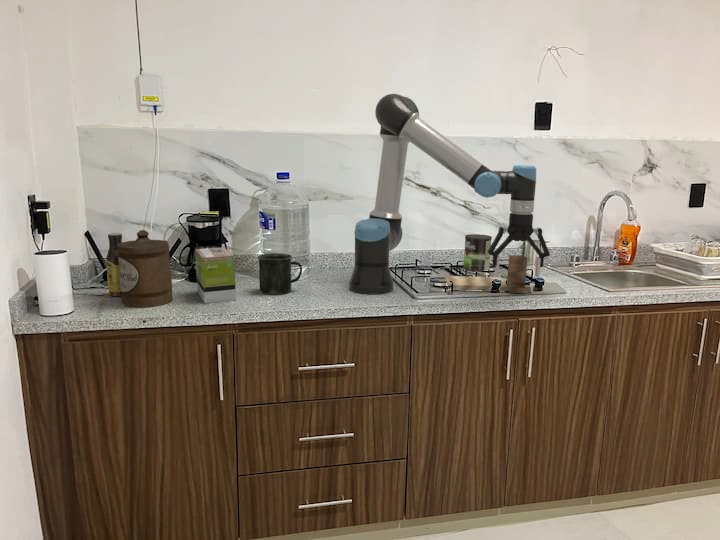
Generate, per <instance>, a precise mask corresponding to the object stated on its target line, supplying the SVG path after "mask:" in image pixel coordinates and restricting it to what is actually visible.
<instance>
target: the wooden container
mask: <svg viewBox="0 0 720 540" xmlns="http://www.w3.org/2000/svg"><path fill="white" fill-rule="evenodd" d="M149 235H150V234H149V232H148V231H146V230H145V229H141V230H139V231H137V233H136V236H137V238H136V239H135V240H128V241H122V243H119V244H118V245H117V249H118V255H119V256H118V258H119V274H120V288H121V296H120V297H121V304H122V305H124V306H126V307H131V308H151V307H157V306H162V305H165V304H169V303H170V302H172V301H173V294H174V293H173V280H172V279H173V278H172V269H171V259H170V244H169V242H168V241H167V240H162V239H150V238H149Z"/></svg>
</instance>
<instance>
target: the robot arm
mask: <svg viewBox="0 0 720 540" xmlns="http://www.w3.org/2000/svg"><path fill="white" fill-rule="evenodd" d="M374 110H375V112H374V113H375V119H376V121H377V123H378V124H379V125H380V130H379V136H380V137H381V139H382V140H383V141H382V149H381V156H380V163H379V164H380V165H379V172H378V180H377V187H376V188H377V189H376V194H375V195H376V197H375V202H374V203H375V204H374V209H373V210H371V211H370V213H369V218H367V219H360V220H359V221H357V222H356V224H355V227H354V228H355V229H354V233H353V234H354V267H353V270H352V273H351V277H350V280H349V283H348V286H349V290H350V291H351V292H355V293H359V294H366V295H378V294H386V293H390V292H392V291H393V290H394V281H393V278H392V274H391V270H390V252H391V251H393V250H394V249H396V248H397V246H399V244H400V243H401V241H402V239H403V229H402V220H403V216H402V215H401V214H400V212H399V211H400V203H401V196H402V190H403V189H402V188H403V181H404V175H405V167H406V161H407V153H408V145H409V143H412V144H413V146H415V147H417V148H418V149H420V150H421V151H422V152H423V153H424V154H426V155H428V156H429V157H430V158H432V159H433V160H434V161H436V162H437V163H438V164H440V165H441V166H443V167H444V168H445V169H447V171H449V172H451V173H452V174H453V175H455V176H456V177H458V178H459V179H460V180H461V181H463V182H464V183H465V184H467V185H468V186H469V187H471V188H472V189H473V190H474V192H475V193H476V194H478V195H479V196H480V197H483V198H493V197H494V196H496V195H510V203H509V204H510V206H509V211H510V213H509V218H508V226H507V227H502V226H499V227H498V229H497V230H498V231H497V235H495V237H494V239H493V241H492V242H491V246H490V248H489V250H488V254H489V255H490V256H492V266H493V267H494V268H495V269H494V276H495V277H499V272H500V259H501V258H500V256H499V255H500V254H501V253H502V252H503V251H504V250H505V249H506V247H507V246H508V245H509V244H510V243H511V242H513V241H515V242H519V241H520V242H526V241H527V242H528V243H529V244H530V246H531V247H532V249H533V250H534V251H535V252H536V254H537V255H538V256H536V260H535V272H534V276H535V277H536V278H540V272H541V271H540V270H541V268H543V267H544V259H545V258H546V257H550V255H551V253H550V250H549V248H548V246H547V243H546V241H545V239H544V236H543V229H542V228H541V227H536V228H533V221H534V215H533V213H534V209H535V198H536V197H535V196H536V186H537V167H536V166H535V165H528V164H527V165H525V164H523V165H522V164H521V165H513V167H512V170H510V171H509V170H508V171H505V170H504V171H503V170H491V169H489V167H487V166H485V165H484V164H483V163H481V162H480V161H478V159H476V158H475V157H473V156H472V155H470V154H469V153H468V152H466V151H465V150H463V148H461V147H460V146H458V145H457V144H455V143H454V142H453V141H452V140H450V139H449V138H447V137H446V136H445V135H444V134H442V133H440V132H439V131H438V130H436V129H435V128H434V127H432V126H431V125H430V124H428V123H427V122H426V121H424V120H423V119H421V118H420V111H419V108H418V105H417V104H416V103H415V101H413V100H412V99H411V98H410V97H408V96H404V95H401V94H399V93H389V94H386V95H384V96H383V97H380V100H379V101H377V104H376V106H375V109H374ZM506 232H507V234H508V236H507V237H506V238H505V239H504V241H503V242H502V243H501V244H499V243H500V240H501V239H502V237H503V235H505V233H506ZM533 233H534V234H535V235H536V236H537V237H536V238H537V240H538V241H539V244H540V247H541V249H542V250H541V249H540V248H539V247H538V245H537V244H536V243H535V242H534V239H533V238H532V237H531V236H532V235H533ZM498 245H499V246H498ZM542 251H543V252H542Z"/></svg>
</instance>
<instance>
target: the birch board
mask: <svg viewBox="0 0 720 540" xmlns="http://www.w3.org/2000/svg"><path fill="white" fill-rule="evenodd" d="M507 278H508V277H499V276H494V277H493V276H491V277H490V276H489V277H488V276H466V275H465V276H459V275H444V280H445V279H446V281H447V285H448V286H451V283H450V281H452V282H453V288H454V290H482V291H490V290H491V288H492V287H493V286H492V281H493V280H494V279H498V280H501V281H502V284H501V286H500V291H502V292H501V293H506V292H505V291H509V285H507V284H506V279H507ZM503 291H504V292H503ZM525 292H530V293H529V294H532V287H531V285H530V284H529V285H525Z"/></svg>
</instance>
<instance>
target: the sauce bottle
mask: <svg viewBox="0 0 720 540" xmlns="http://www.w3.org/2000/svg"><path fill="white" fill-rule="evenodd" d="M107 239H108V243H109V244H108V246H109V247H108V251H107V254H106V258H105V261H106V262H105V265H106V277H107V288H108V289H107V290H108V293H109V294H108V295H110V296H111V297H121V288H120V274H119V258H118V256H119V255H118V249H117V245H118V244H119V243H122V242H123V234H122V233H120V232H111V233H108V234H107Z"/></svg>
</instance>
